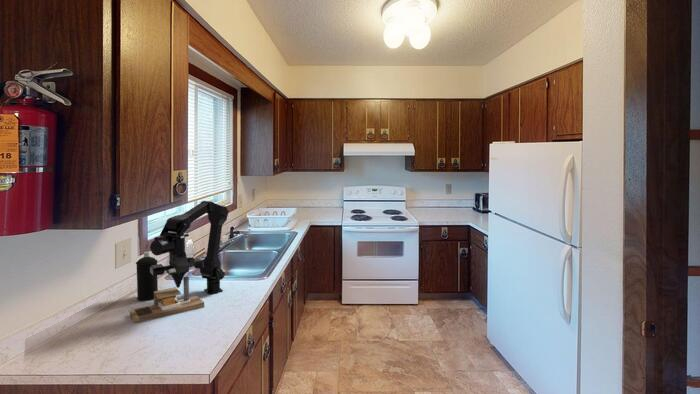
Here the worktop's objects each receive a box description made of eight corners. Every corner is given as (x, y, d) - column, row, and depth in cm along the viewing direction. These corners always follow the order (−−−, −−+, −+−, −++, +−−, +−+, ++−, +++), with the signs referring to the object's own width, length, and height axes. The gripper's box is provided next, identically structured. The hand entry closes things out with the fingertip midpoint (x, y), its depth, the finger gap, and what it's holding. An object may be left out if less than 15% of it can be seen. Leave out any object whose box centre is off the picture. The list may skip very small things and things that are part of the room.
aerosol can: (157, 299, 154) (156, 254, 152) (135, 302, 151) (133, 255, 149) (159, 293, 162) (158, 249, 160) (138, 295, 159) (137, 250, 157)
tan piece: (129, 314, 139) (128, 295, 138) (196, 299, 155) (196, 282, 155) (134, 323, 132) (133, 303, 131) (204, 307, 148) (204, 289, 147)
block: (161, 305, 143) (161, 296, 143) (172, 303, 146) (171, 293, 146) (164, 309, 140) (163, 299, 140) (175, 306, 143) (174, 296, 143)
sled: (158, 305, 144) (157, 279, 143) (186, 298, 151) (186, 274, 150) (162, 310, 139) (161, 284, 138) (191, 303, 146) (191, 278, 145)
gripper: (156, 257, 131) (157, 299, 133) (208, 250, 143) (208, 288, 145) (149, 251, 140) (150, 290, 141) (198, 244, 152) (199, 280, 153)
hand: (178, 287), depth 145 cm, fingers closed
